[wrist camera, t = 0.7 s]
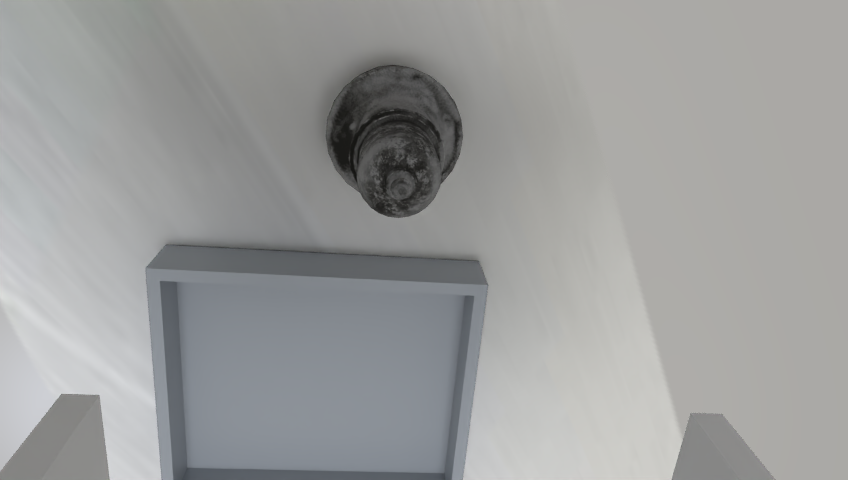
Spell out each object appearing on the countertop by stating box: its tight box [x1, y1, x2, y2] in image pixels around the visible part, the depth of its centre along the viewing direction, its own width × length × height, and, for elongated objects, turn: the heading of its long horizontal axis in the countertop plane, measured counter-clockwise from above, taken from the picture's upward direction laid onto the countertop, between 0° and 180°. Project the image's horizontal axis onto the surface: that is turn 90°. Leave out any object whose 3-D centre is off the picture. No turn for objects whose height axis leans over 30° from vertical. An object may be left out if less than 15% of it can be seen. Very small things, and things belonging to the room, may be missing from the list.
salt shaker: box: [326, 65, 463, 218], centre depth 25 cm, size 6×6×12 cm
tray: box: [145, 245, 488, 480], centre depth 34 cm, size 14×16×3 cm
